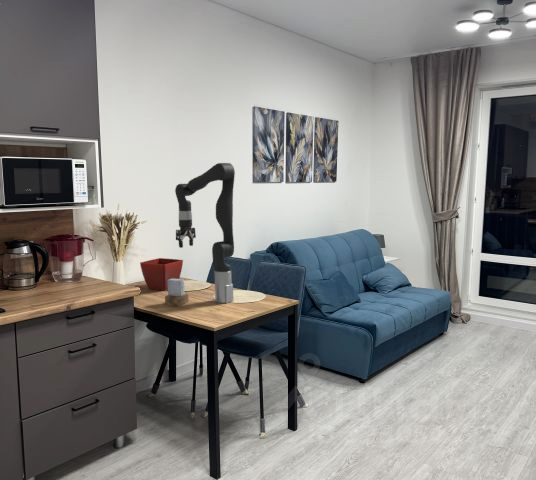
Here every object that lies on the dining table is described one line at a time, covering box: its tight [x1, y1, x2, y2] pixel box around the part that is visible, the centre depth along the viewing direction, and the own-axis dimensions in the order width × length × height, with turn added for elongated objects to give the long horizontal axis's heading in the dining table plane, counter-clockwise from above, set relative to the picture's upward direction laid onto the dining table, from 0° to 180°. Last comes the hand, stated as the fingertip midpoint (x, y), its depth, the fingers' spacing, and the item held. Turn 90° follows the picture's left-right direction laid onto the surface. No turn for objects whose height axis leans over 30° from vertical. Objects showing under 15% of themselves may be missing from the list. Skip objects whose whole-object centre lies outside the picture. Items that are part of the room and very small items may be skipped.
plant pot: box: [139, 257, 184, 291], centre depth 301 cm, size 19×19×17 cm
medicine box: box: [167, 278, 186, 296], centre depth 264 cm, size 8×4×9 cm, turn 73°
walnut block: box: [164, 293, 190, 307], centre depth 265 cm, size 9×9×5 cm
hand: (186, 246), depth 282 cm, fingers open, 8 cm apart
